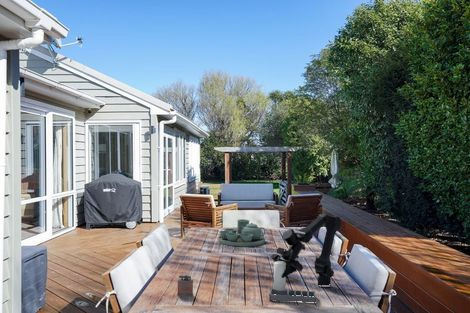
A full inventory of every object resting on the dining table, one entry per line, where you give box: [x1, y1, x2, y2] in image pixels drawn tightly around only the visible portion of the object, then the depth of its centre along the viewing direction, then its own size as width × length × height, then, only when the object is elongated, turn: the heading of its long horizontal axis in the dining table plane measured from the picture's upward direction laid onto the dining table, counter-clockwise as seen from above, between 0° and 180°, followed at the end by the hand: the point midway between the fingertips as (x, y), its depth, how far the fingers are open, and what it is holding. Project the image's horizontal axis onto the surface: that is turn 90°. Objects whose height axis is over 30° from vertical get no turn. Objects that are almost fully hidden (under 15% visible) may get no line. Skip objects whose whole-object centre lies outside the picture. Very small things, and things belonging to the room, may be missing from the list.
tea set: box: [217, 218, 266, 248], centre depth 332 cm, size 40×40×16 cm
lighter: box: [176, 274, 194, 297], centre depth 199 cm, size 8×3×10 cm, turn 92°
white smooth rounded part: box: [273, 261, 287, 291], centre depth 197 cm, size 6×6×13 cm
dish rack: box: [268, 288, 317, 303], centre depth 196 cm, size 23×10×4 cm, turn 82°
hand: (277, 275), depth 196 cm, fingers closed on white smooth rounded part, 6 cm apart
